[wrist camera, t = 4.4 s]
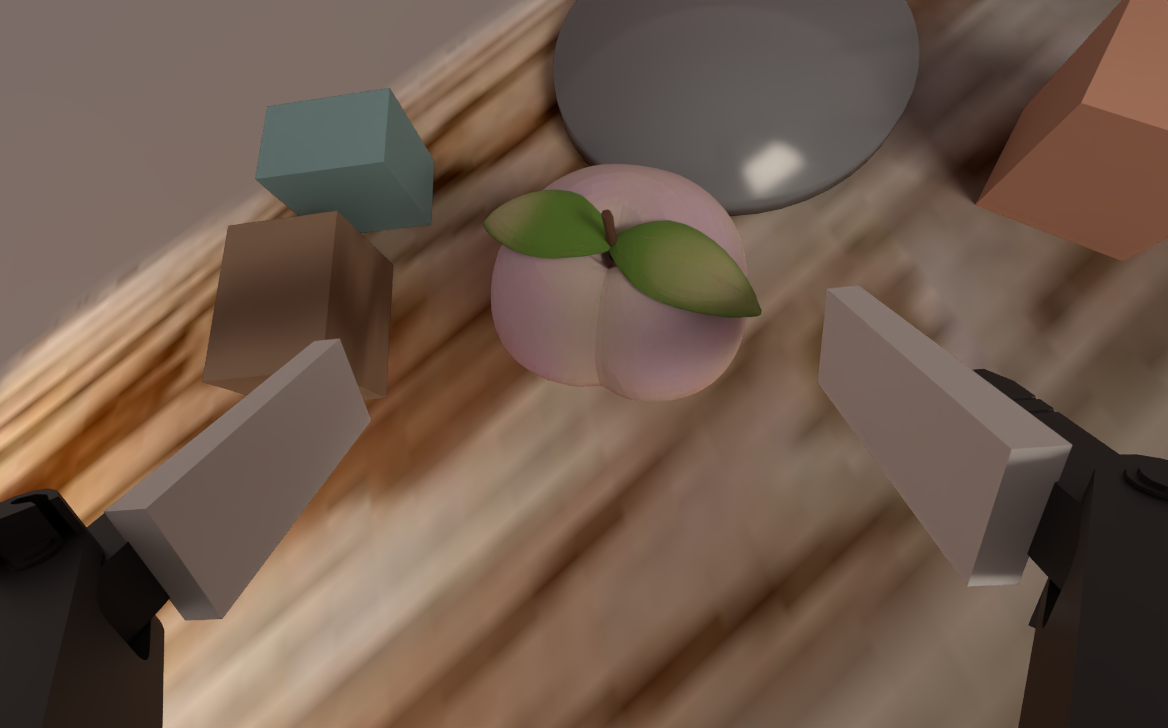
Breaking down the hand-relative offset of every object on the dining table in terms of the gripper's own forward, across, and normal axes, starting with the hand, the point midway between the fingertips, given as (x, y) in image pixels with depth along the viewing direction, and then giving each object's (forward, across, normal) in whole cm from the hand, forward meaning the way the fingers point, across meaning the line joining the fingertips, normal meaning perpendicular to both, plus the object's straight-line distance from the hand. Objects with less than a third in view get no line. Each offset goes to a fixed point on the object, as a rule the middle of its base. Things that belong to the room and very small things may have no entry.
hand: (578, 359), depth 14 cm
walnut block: (+10, -13, -2) cm, 16 cm away
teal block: (+16, -11, +3) cm, 19 cm away
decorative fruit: (+9, +1, -4) cm, 10 cm away
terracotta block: (+13, +22, 0) cm, 25 cm away
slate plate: (+19, +8, +7) cm, 22 cm away
